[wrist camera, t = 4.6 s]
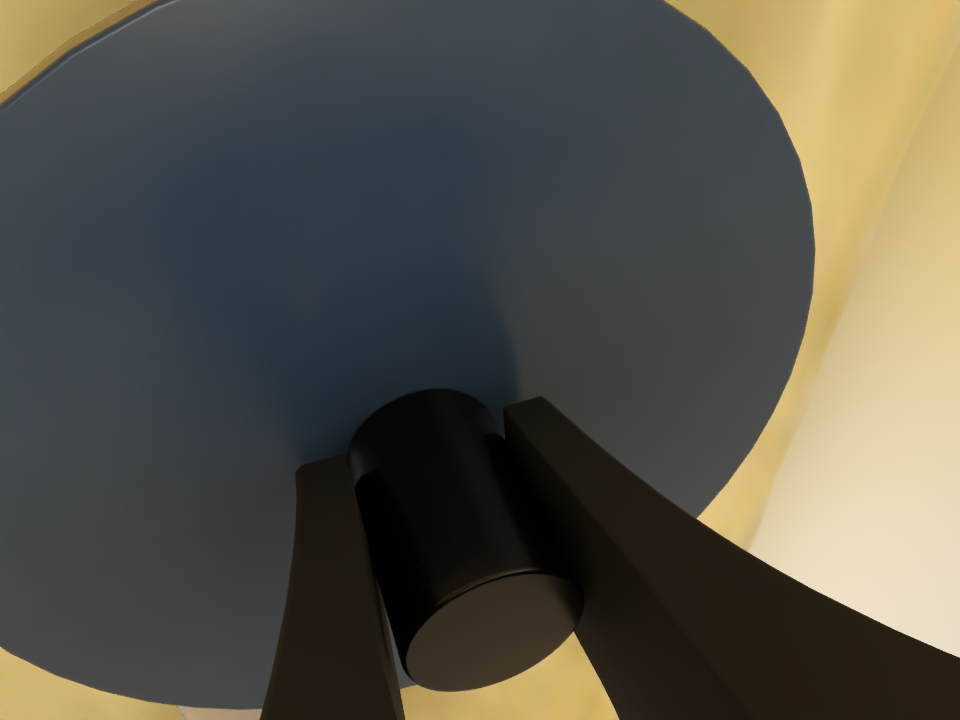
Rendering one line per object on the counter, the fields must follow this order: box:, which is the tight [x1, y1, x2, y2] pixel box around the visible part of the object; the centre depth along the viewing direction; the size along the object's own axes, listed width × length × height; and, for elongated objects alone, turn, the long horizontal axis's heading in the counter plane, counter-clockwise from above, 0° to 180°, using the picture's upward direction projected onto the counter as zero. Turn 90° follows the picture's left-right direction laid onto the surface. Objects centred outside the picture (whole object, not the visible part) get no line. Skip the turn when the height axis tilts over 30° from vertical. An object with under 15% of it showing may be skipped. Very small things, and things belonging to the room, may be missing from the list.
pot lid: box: [0, 0, 815, 710], centre depth 11 cm, size 14×14×4 cm
